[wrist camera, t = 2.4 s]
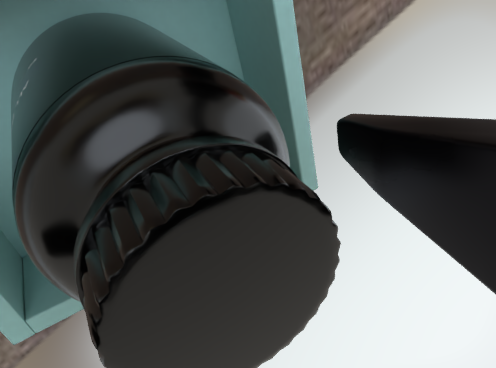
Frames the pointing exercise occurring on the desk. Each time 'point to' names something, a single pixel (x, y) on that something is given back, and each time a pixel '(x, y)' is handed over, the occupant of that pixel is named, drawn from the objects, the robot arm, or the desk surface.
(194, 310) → the supplement bottle
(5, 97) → the bin
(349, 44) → the desk surface
